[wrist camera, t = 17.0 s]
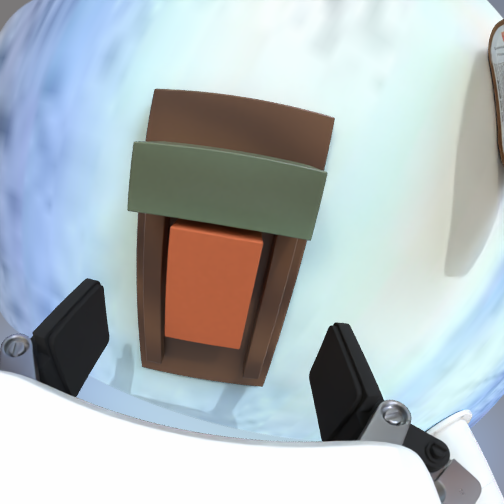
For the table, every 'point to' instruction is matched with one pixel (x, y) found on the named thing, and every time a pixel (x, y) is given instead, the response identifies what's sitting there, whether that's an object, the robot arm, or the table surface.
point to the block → (210, 282)
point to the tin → (498, 78)
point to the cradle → (225, 213)
